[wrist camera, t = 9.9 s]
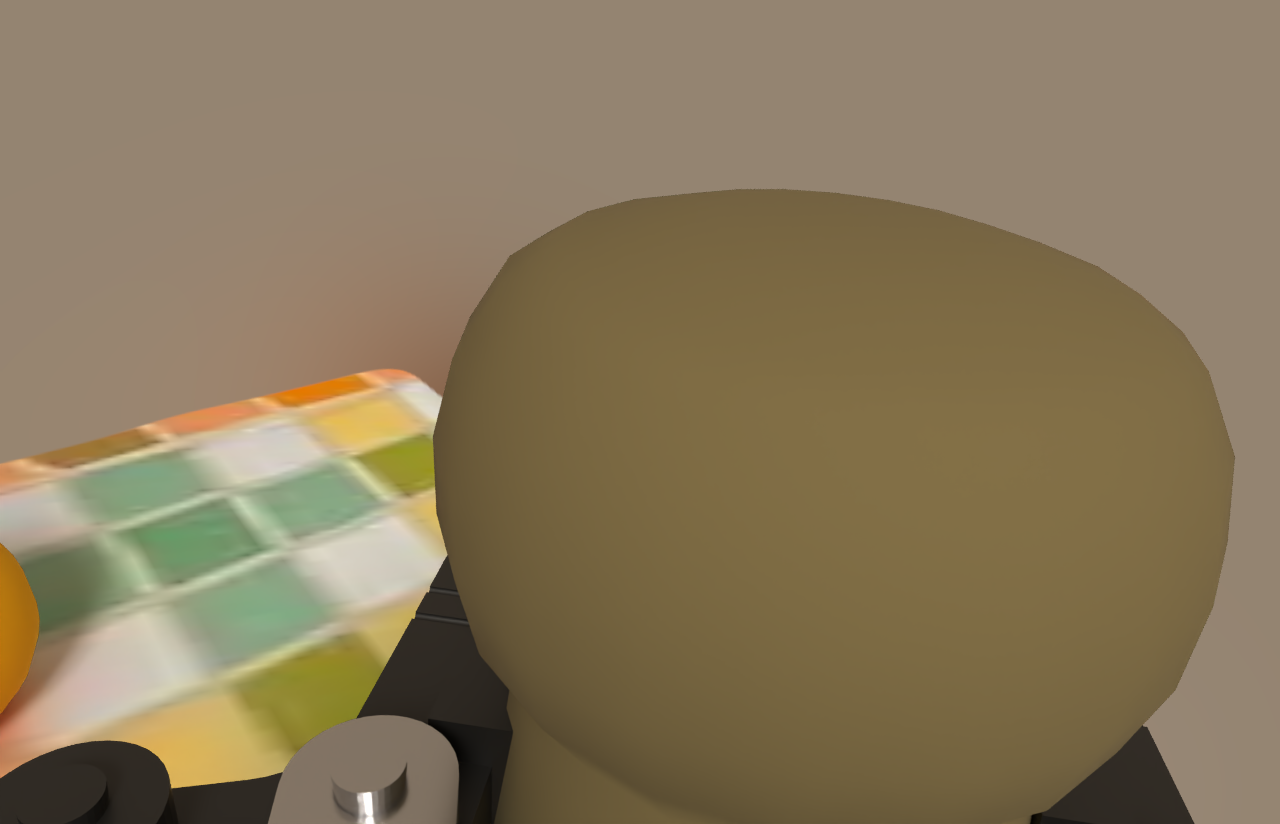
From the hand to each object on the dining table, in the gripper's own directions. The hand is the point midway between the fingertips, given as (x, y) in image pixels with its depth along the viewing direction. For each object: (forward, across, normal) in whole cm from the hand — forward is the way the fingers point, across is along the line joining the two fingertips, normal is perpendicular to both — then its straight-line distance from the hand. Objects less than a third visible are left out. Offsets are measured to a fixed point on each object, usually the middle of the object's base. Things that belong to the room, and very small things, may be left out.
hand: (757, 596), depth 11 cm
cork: (-3, 0, +6) cm, 7 cm away
